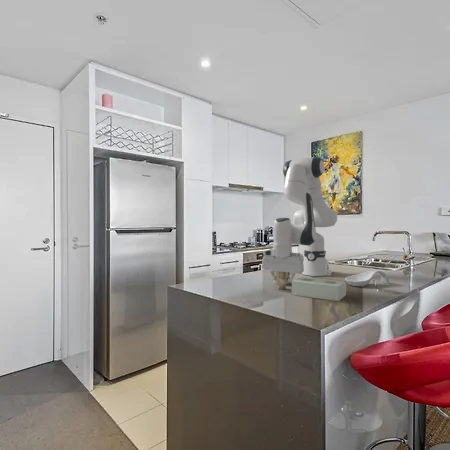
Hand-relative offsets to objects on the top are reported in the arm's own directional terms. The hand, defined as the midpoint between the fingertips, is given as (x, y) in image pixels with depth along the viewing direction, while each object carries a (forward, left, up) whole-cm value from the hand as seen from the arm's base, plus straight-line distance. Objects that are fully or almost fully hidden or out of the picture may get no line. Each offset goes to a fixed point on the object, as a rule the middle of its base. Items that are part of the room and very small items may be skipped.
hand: (282, 281), depth 149 cm
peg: (0, 0, -4) cm, 4 cm away
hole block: (+2, +18, -4) cm, 18 cm away
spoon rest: (-33, +31, -4) cm, 45 cm away
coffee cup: (-12, -6, -4) cm, 14 cm away
